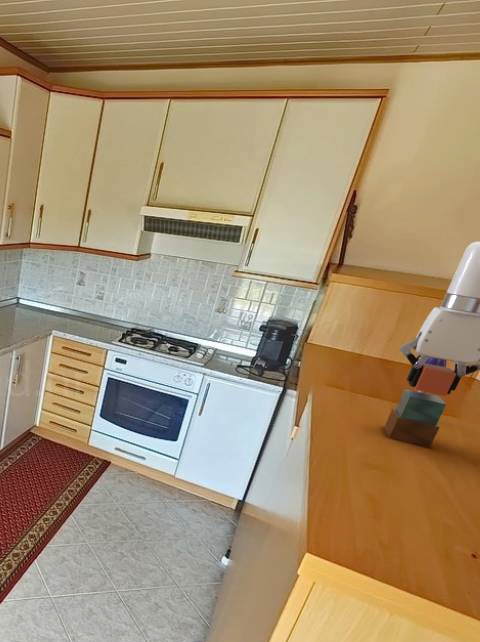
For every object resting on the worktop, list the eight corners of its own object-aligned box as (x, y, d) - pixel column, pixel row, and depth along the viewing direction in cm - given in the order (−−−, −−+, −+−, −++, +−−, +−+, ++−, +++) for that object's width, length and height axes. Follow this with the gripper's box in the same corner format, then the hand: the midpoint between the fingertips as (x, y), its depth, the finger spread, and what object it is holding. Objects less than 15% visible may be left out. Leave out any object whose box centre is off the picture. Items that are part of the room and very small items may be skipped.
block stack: (422, 437, 110) (441, 396, 107) (429, 448, 105) (450, 405, 101) (384, 427, 114) (401, 387, 110) (388, 437, 108) (407, 396, 104)
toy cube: (439, 389, 106) (450, 368, 104) (445, 396, 102) (456, 373, 100) (410, 383, 108) (420, 362, 106) (415, 389, 104) (425, 367, 102)
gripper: (517, 311, 97) (475, 395, 104) (409, 295, 106) (376, 374, 112) (532, 316, 91) (487, 405, 98) (417, 299, 99) (381, 382, 106)
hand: (428, 387), depth 105 cm, fingers closed on toy cube, 5 cm apart
